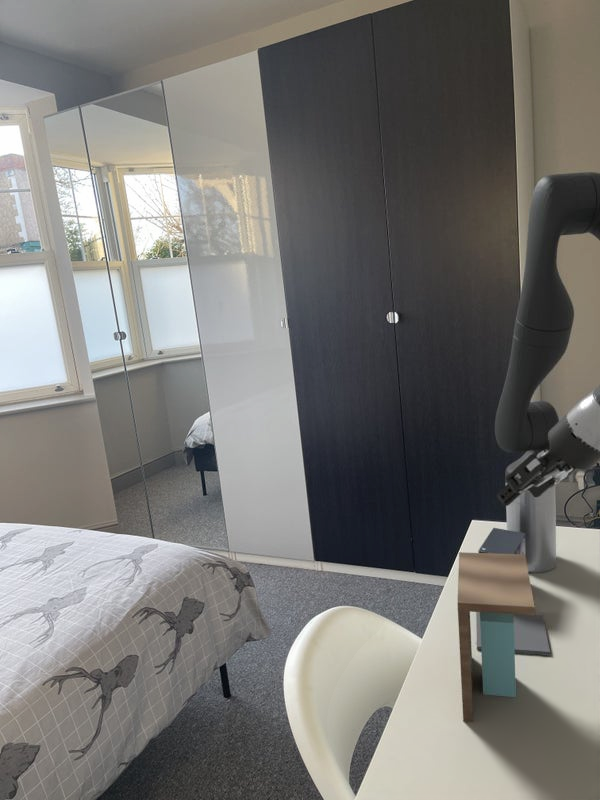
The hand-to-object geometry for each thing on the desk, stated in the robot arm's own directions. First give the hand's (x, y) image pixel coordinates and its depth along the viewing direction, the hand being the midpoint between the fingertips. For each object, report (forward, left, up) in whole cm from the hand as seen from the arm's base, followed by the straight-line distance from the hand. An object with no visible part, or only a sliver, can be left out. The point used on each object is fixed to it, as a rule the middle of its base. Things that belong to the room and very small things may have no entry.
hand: (516, 496), depth 94 cm
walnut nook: (+13, -4, -25) cm, 28 cm away
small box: (-14, -2, -25) cm, 29 cm away
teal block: (+12, -4, -25) cm, 28 cm away
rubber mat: (-1, -1, -25) cm, 25 cm away
